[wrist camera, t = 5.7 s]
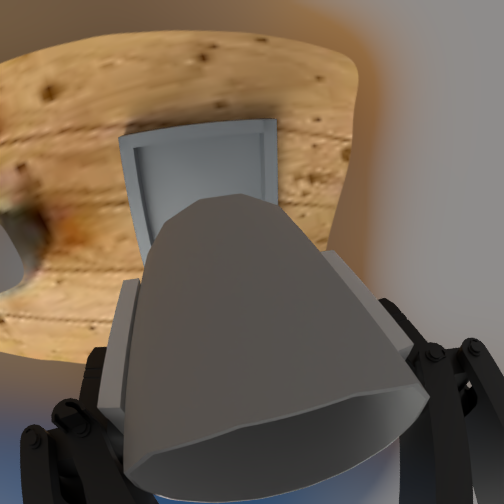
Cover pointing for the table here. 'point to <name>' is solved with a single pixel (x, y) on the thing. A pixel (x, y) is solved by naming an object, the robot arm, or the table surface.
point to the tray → (196, 168)
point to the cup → (253, 362)
